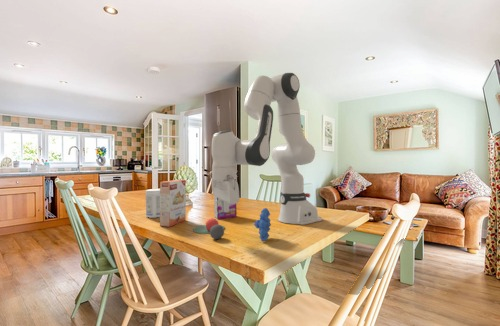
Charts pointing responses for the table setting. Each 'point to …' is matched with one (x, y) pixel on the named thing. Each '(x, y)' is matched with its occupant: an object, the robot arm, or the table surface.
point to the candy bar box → (221, 214)
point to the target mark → (203, 229)
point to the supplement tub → (153, 203)
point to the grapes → (263, 224)
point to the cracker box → (172, 202)
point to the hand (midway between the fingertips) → (225, 211)
